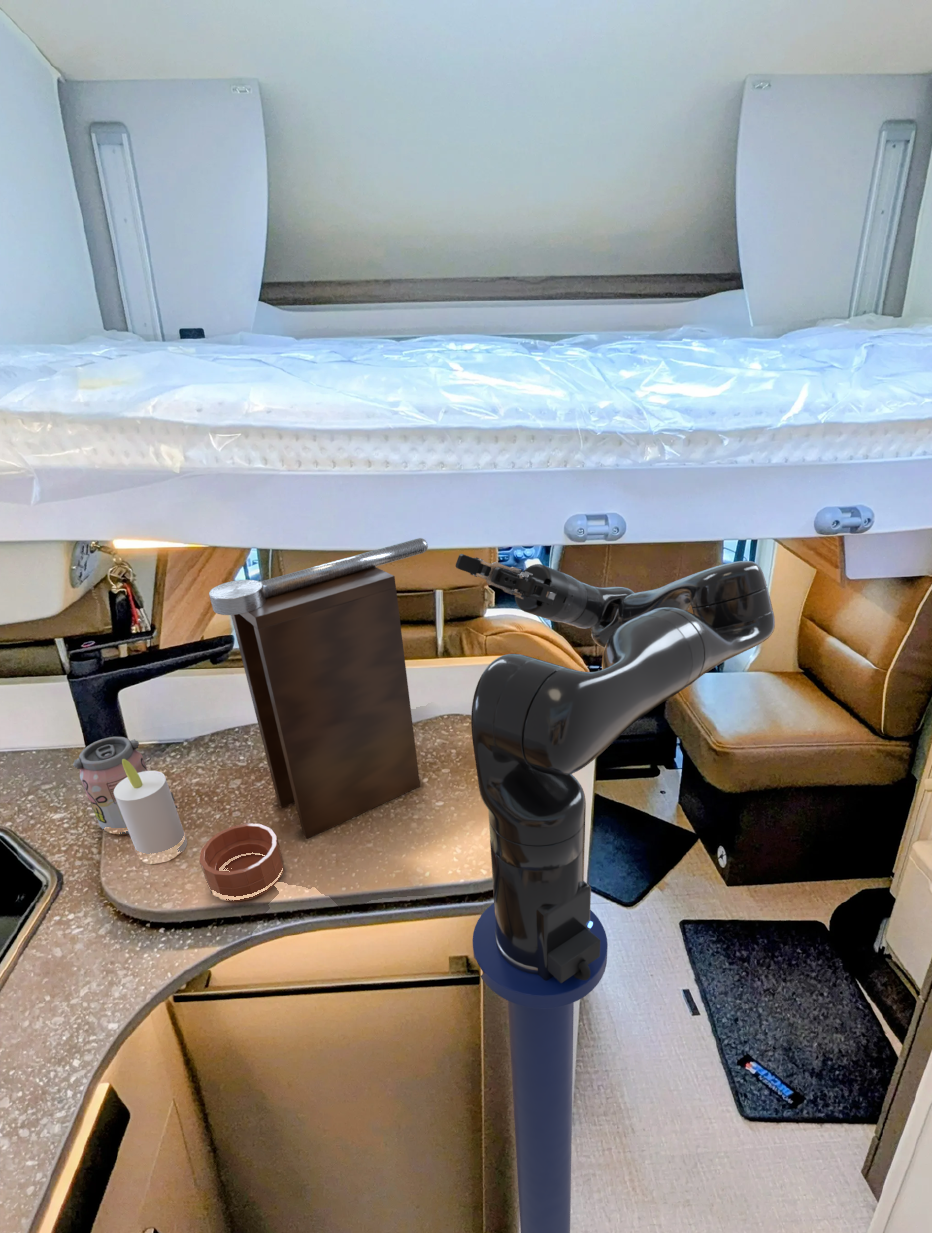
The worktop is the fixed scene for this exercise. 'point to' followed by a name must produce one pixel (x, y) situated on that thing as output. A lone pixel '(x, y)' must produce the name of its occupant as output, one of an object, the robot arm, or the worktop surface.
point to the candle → (149, 810)
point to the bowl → (242, 860)
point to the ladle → (304, 578)
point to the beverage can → (107, 775)
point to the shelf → (332, 696)
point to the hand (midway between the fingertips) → (476, 567)
